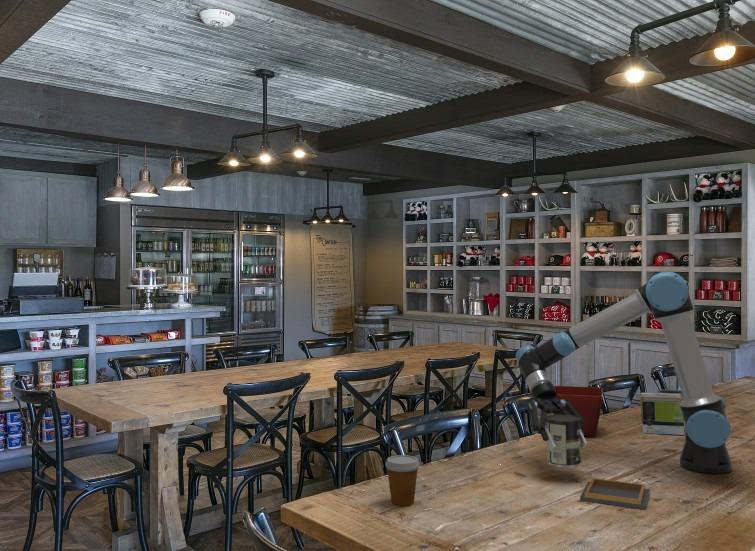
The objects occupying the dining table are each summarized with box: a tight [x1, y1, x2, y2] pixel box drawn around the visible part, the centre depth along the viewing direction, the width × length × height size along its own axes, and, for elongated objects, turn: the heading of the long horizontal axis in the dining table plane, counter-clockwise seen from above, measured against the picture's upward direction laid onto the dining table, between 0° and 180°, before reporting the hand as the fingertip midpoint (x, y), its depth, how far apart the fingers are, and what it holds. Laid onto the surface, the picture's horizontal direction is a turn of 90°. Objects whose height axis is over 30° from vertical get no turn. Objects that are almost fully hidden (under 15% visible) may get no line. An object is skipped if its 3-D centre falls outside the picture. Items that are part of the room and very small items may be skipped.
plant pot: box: [553, 385, 604, 438], centre depth 259 cm, size 19×19×17 cm
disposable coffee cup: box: [385, 454, 420, 507], centre depth 183 cm, size 10×10×12 cm
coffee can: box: [546, 414, 582, 469], centre depth 202 cm, size 10×10×14 cm
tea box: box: [640, 392, 685, 436], centre depth 259 cm, size 15×10×15 cm
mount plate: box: [579, 477, 651, 510], centre depth 185 cm, size 17×15×2 cm
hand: (569, 447), depth 200 cm, fingers closed on coffee can, 10 cm apart
